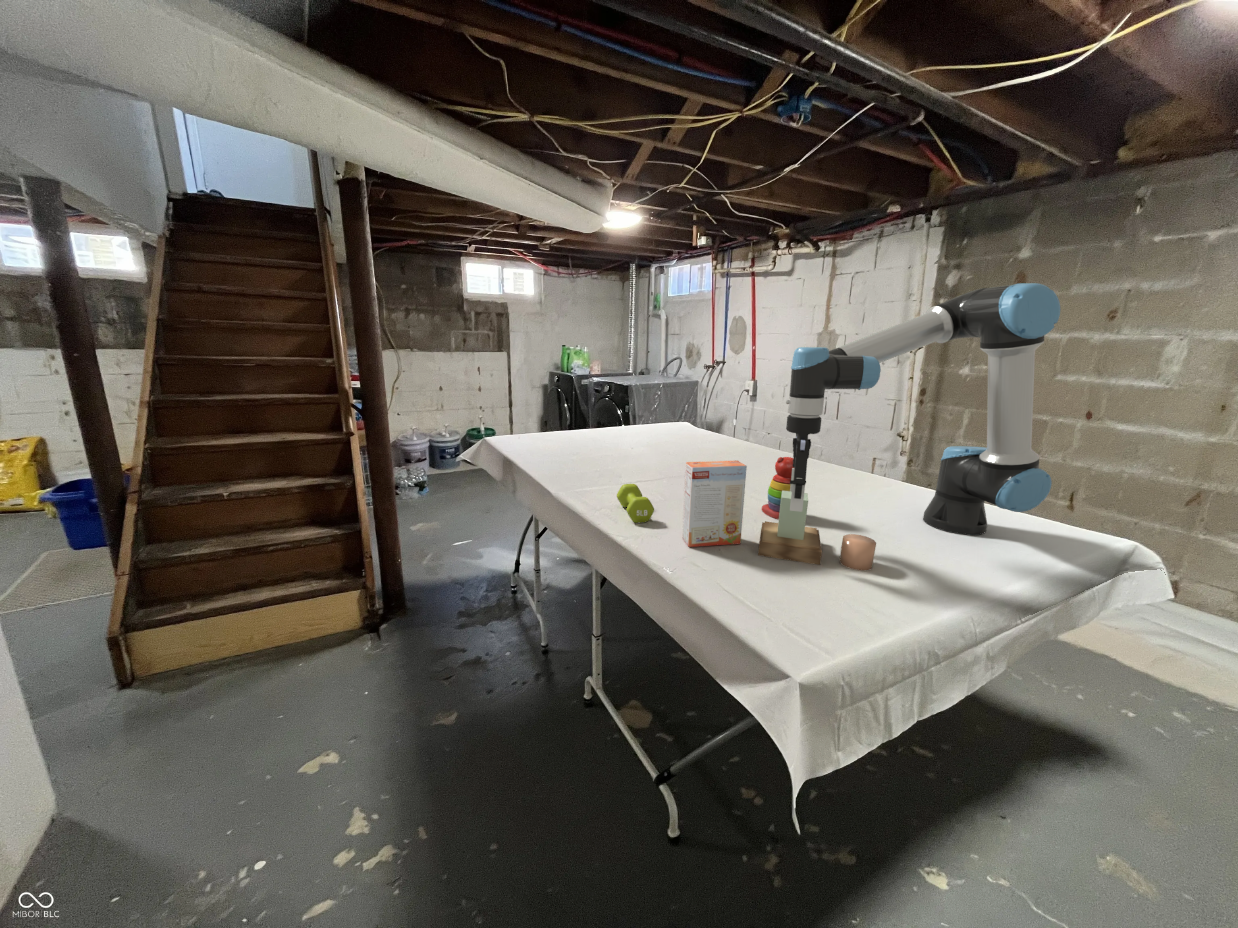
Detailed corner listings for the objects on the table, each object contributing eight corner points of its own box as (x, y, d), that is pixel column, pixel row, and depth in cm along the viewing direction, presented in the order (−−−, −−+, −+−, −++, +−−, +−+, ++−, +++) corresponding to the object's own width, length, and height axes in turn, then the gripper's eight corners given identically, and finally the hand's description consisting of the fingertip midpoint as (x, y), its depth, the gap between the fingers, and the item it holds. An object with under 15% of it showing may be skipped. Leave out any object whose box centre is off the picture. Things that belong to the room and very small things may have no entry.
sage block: (802, 531, 122) (807, 493, 119) (803, 540, 116) (808, 500, 114) (777, 527, 124) (782, 490, 121) (777, 536, 118) (781, 497, 116)
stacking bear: (795, 509, 149) (802, 453, 145) (804, 521, 139) (812, 462, 135) (760, 507, 150) (765, 452, 146) (766, 519, 140) (772, 460, 136)
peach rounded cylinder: (869, 559, 116) (873, 536, 114) (874, 572, 110) (878, 548, 108) (838, 555, 118) (841, 532, 117) (840, 567, 112) (844, 543, 110)
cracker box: (731, 535, 128) (738, 459, 123) (741, 545, 123) (748, 465, 117) (680, 538, 126) (685, 460, 121) (687, 547, 120) (693, 466, 115)
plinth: (817, 542, 125) (819, 527, 124) (820, 564, 113) (822, 549, 112) (761, 534, 130) (762, 520, 129) (757, 555, 117) (759, 540, 116)
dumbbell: (655, 523, 136) (656, 499, 134) (627, 525, 134) (628, 500, 133) (640, 504, 152) (641, 482, 150) (615, 505, 150) (615, 483, 148)
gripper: (787, 407, 125) (780, 485, 131) (787, 423, 102) (778, 517, 108) (818, 408, 123) (810, 488, 128) (825, 425, 100) (814, 521, 105)
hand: (795, 501), depth 118 cm, fingers open, 13 cm apart
